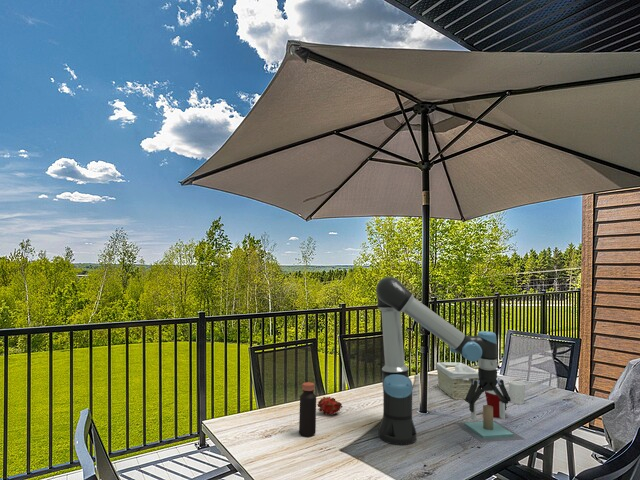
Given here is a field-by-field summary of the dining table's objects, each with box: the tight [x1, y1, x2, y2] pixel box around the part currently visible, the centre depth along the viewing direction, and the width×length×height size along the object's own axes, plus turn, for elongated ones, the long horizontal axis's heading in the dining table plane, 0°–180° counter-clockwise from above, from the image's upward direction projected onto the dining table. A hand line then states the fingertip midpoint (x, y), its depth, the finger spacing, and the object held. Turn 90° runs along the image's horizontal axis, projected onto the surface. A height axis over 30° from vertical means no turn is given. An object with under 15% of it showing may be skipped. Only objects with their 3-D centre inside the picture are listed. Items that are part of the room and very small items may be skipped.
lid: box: [464, 404, 514, 438], centre depth 168 cm, size 14×14×10 cm
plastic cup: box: [484, 388, 504, 419], centre depth 186 cm, size 11×11×12 cm
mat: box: [454, 420, 525, 443], centre depth 168 cm, size 20×20×1 cm
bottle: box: [298, 381, 317, 438], centre depth 162 cm, size 7×7×20 cm
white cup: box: [508, 380, 526, 405], centre depth 207 cm, size 8×8×10 cm
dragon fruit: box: [316, 396, 343, 416], centre depth 184 cm, size 8×8×12 cm
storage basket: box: [435, 361, 479, 400], centre depth 221 cm, size 24×16×15 cm
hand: (488, 418), depth 168 cm, fingers open, 13 cm apart
